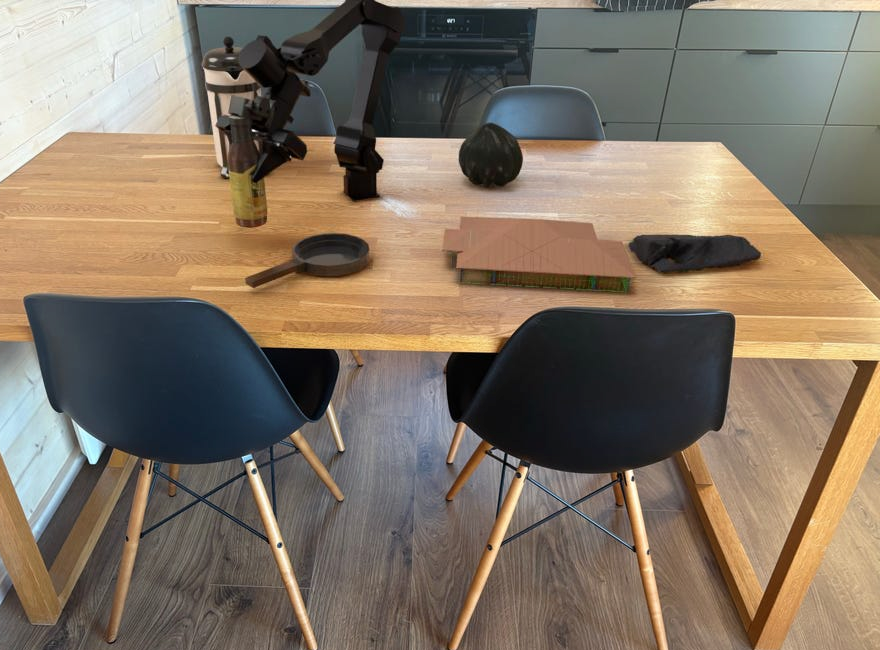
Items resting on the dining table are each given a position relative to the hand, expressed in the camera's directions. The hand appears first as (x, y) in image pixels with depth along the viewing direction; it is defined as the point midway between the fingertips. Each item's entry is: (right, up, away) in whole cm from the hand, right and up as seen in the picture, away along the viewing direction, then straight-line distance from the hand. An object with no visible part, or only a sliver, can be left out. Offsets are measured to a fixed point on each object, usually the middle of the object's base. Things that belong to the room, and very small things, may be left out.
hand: (240, 178), depth 127 cm
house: (+53, -15, +3) cm, 56 cm away
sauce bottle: (+1, -7, +6) cm, 9 cm away
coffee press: (-10, +14, +45) cm, 48 cm away
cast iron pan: (+16, -15, +2) cm, 22 cm away
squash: (+50, +9, +38) cm, 64 cm away
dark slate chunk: (+84, -14, +5) cm, 86 cm away
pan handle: (+8, -19, -6) cm, 21 cm away
